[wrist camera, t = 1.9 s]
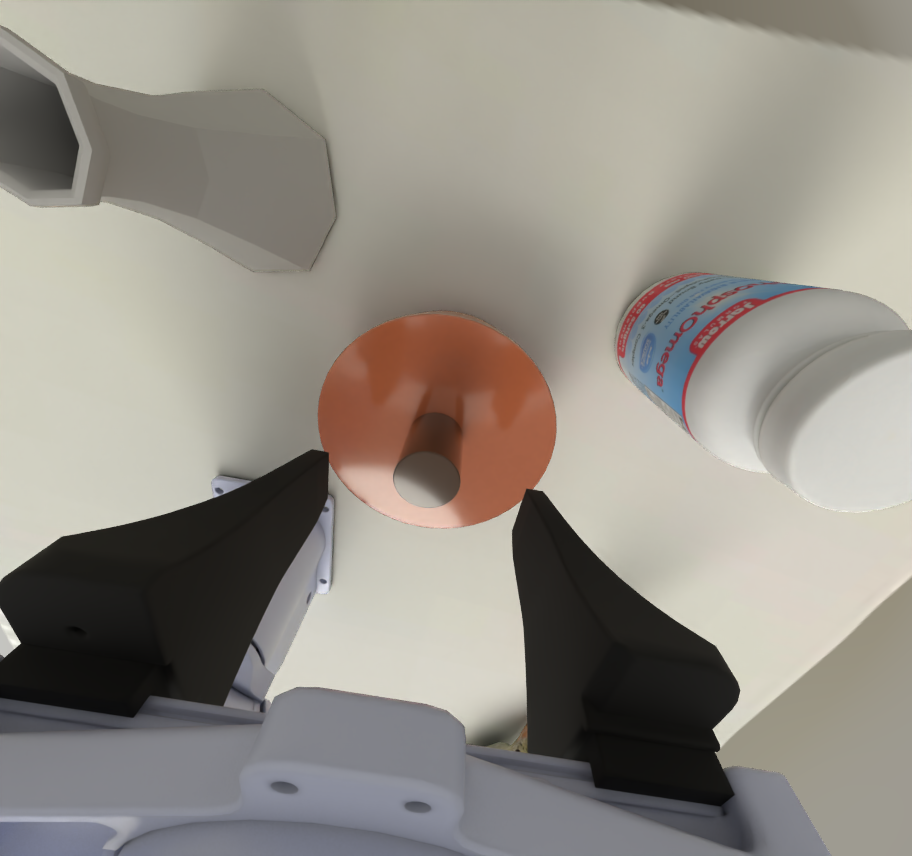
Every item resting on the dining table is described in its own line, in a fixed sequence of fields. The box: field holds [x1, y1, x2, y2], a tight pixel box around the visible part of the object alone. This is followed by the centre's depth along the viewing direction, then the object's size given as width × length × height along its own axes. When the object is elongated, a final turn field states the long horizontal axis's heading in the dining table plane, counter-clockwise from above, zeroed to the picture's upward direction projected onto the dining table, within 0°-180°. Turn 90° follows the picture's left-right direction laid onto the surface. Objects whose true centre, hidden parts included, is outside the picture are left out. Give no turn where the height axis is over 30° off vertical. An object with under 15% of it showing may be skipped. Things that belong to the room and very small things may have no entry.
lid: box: [318, 313, 556, 528], centre depth 16 cm, size 11×11×5 cm
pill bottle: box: [615, 273, 912, 512], centre depth 14 cm, size 6×6×11 cm
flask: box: [0, 25, 336, 272], centre depth 12 cm, size 7×7×10 cm
